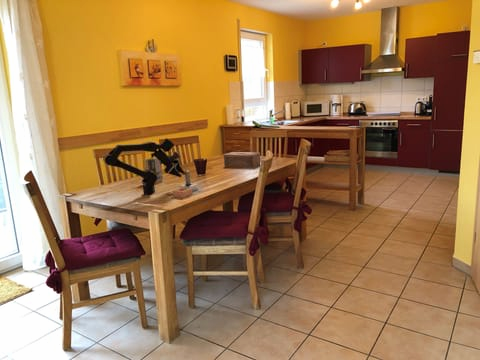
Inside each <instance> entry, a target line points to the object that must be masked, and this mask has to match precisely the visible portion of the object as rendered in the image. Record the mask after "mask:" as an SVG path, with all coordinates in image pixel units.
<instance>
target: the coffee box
mask: <svg viewBox="0 0 480 360" xmlns="http://www.w3.org/2000/svg"><path fill="white" fill-rule="evenodd" d="M144 162H145V163H144V164H145V169H147V170H149V171H152V172H154V174H155V175H156V176H157V180H156V182H155V184H159V183H163V182H164V177H163V170H162V169H163V168H162V164H161V162H160V161H159V160H158V159H157V158H156V157H153V158H151V157H150V158H148V159H145V160H144Z"/></svg>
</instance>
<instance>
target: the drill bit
mask: <svg viewBox="0 0 480 360" xmlns="http://www.w3.org/2000/svg"><path fill="white" fill-rule="evenodd" d="M184 172H185V174H184V178H185V180H184V181H185V184H186V186H190V185H191V183H192V182H191V171H190V170H185V171H184Z"/></svg>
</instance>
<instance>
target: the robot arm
mask: <svg viewBox="0 0 480 360" xmlns="http://www.w3.org/2000/svg"><path fill="white" fill-rule="evenodd" d="M174 147H175V144H174V142H172V141H171V140H169V139H168V138H164V139H163V141H162V142H161V143H160V144H159V143H156V142H155V141H154V142H153V141H146V142H142V143H135V144H133V143H132V144H117V145H115V146H114V148H112V149H111V150H110V151H109V152H108V153H106V154H104V155H103V157H102V161H103V163H104V164H106V165H108V166H110V167H111V166H112V167H116V168H120V169H122V170H124V171H127V172H129V173H132V174H134V175H136V176H139V177H141V178H142V180H141V185H143V186H142V190H143V194H142V196H151V195H154V194H155V193H156V191H155V190H156V188H155V185H156V183H155V182H156V180H157V176H156V175H155V174H154V172H152V171H149V170H147V169H146V168H145V170H144V169H143V170H142V169H140V168H138V167H135V166H133V165H131V164H128V163H126V162H125V161H121V160H120V159H119V157H120V155H121V154H122V153H123V152H126V153H127V152H140V151H142V152H149V153H150V158H156V159H158V160H159V161H160V162H161V165H163V166H165V168H164V173H166V174H168V175H171V176H175V177H178V178H182V175H185V171H184V168H182V166H181V160H180V159H179V158H181V157H182V156H181V153H180V152H179V151H173V154H172V155H170V154H167V153H169V152H170V151H171V150H172V149H173V148H174Z"/></svg>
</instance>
